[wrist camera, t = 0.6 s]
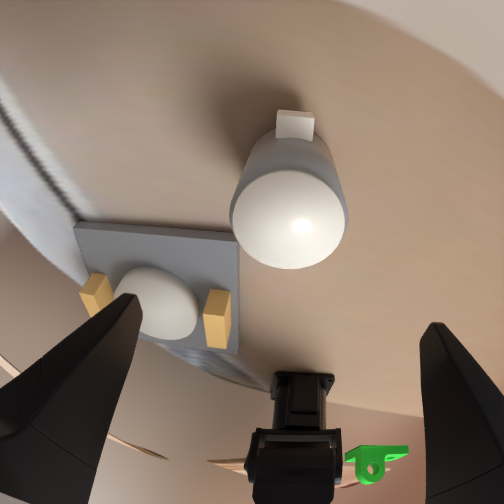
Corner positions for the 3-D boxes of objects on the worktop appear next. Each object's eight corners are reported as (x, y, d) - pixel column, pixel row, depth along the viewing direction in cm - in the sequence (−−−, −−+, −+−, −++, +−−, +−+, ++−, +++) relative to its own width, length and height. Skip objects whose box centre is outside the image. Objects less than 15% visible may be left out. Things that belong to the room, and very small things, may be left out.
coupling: (324, 223, 20) (332, 293, 15) (246, 215, 20) (229, 284, 15) (340, 113, 15) (365, 149, 10) (249, 104, 16) (226, 135, 11)
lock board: (239, 346, 29) (233, 377, 26) (117, 326, 30) (105, 352, 27) (238, 233, 21) (229, 267, 18) (79, 221, 22) (55, 247, 19)
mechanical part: (344, 453, 50) (344, 488, 44) (360, 444, 46) (361, 482, 40) (391, 453, 51) (392, 485, 45) (408, 445, 47) (410, 479, 41)
